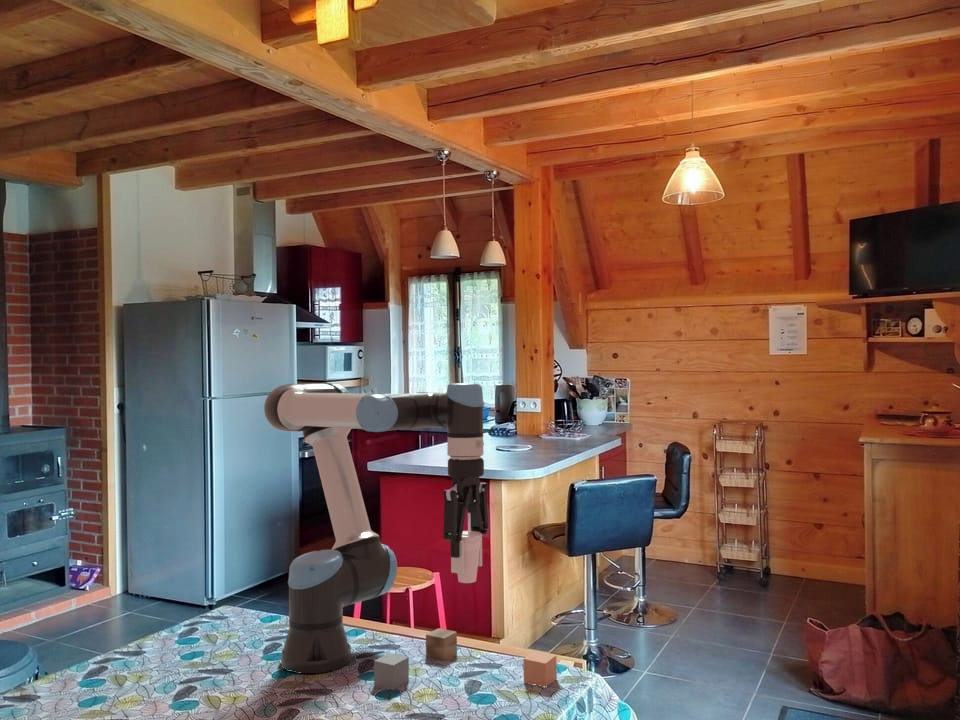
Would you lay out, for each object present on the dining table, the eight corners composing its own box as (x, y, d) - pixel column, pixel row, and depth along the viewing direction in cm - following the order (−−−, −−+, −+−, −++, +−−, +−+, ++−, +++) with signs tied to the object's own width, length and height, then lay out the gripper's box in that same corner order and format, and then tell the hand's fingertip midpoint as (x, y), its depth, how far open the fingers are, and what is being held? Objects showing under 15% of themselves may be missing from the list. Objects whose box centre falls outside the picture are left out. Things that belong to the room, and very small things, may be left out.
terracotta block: (523, 683, 153) (523, 658, 153) (535, 675, 157) (534, 651, 157) (545, 688, 150) (545, 663, 150) (556, 679, 154) (556, 655, 154)
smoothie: (479, 585, 151) (478, 516, 151) (448, 584, 152) (447, 515, 153) (485, 577, 157) (484, 510, 158) (455, 576, 159) (455, 509, 159)
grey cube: (374, 685, 153) (374, 660, 153) (389, 677, 157) (389, 652, 157) (393, 690, 150) (393, 665, 150) (408, 681, 154) (408, 657, 154)
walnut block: (426, 657, 168) (425, 634, 168) (438, 650, 172) (438, 628, 172) (444, 661, 165) (444, 638, 166) (456, 654, 170) (456, 631, 170)
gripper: (455, 462, 145) (456, 582, 145) (504, 453, 162) (505, 561, 161) (423, 461, 149) (425, 577, 149) (475, 452, 166) (476, 557, 165)
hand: (467, 568), depth 155 cm, fingers closed on smoothie, 6 cm apart
